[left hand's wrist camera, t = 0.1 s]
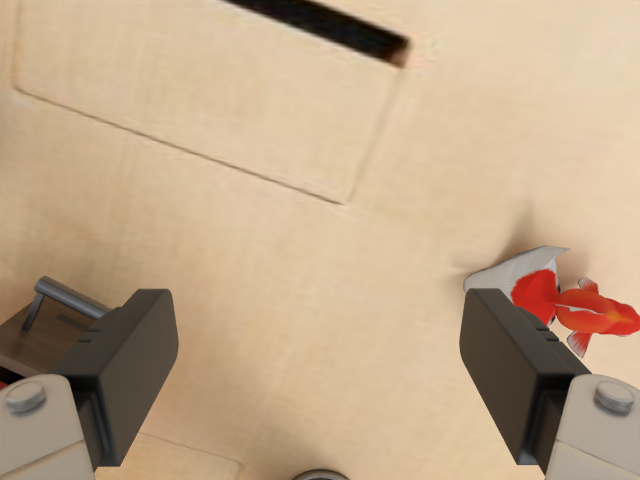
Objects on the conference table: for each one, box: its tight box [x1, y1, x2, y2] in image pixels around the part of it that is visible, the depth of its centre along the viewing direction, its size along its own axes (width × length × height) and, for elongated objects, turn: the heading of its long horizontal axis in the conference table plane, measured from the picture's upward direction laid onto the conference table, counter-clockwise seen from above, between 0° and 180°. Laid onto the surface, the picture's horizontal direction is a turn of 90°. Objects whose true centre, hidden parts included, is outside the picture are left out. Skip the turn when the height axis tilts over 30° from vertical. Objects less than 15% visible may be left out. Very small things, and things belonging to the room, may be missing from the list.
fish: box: [463, 246, 640, 358], centre depth 40 cm, size 11×16×10 cm
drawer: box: [0, 276, 112, 385], centre depth 41 cm, size 22×10×9 cm, turn 147°
